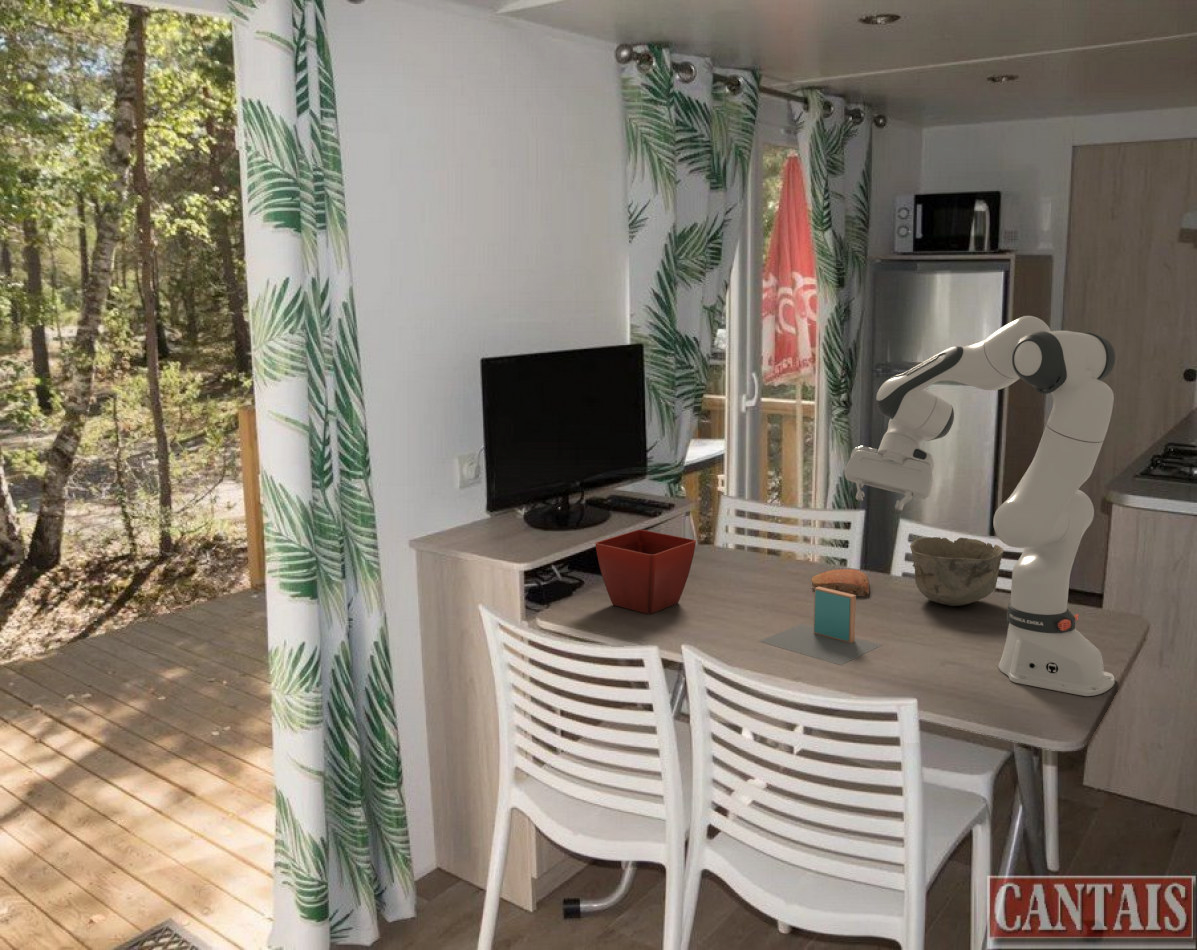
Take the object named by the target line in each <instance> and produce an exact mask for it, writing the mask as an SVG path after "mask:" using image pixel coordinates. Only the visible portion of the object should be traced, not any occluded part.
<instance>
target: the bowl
mask: <svg viewBox="0 0 1197 950" xmlns="http://www.w3.org/2000/svg"><path fill="white" fill-rule="evenodd" d="M909 546H910V550H911V555H912V561H913V565H912V567H913V568H914V579H915V580H914V581H915V584H916V588H918V590H919V592H920V594H922V595H923V596H924V597H926V598H927V599H928V600H930V601H932V602H935V603H938V604H941V605H944V604H945V606H949V607H950V606H951V607H958V606H964V605H965V606H966V605H968V604H971V603H975V602H977V601H980V600H982V599H984V598H987V597H989V595H991V593H993V592H994V591H995V589H996V587H997V584H998V578H999V571H1000V567H1001V564H1002V563H1001V561H1002V558H1003V556H1004V548H1003V547H1001V546H999V545H997V544H994V546H993V545H992V543H990V542H984V541H982V540H979V539H975V538H966V537H959V538H956V540H954V541H951V540H949V539H948V538H947V537H942V538H941V537H940V536H938V537H937V536H936V537H935V536H934V537H931V536H930V537H922V538H917V539H914V540H913V541H912V542H911V543H910V545H909Z"/></svg>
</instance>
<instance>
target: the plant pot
mask: <svg viewBox="0 0 1197 950" xmlns="http://www.w3.org/2000/svg"><path fill="white" fill-rule="evenodd" d="M696 543H697V541H696V539H691V538H687V537H682V536H677V535H676V536H675V535H671V534H665V533H661V532H656V531H651V530H647V529H646V530H645V529H635V530H632V531H630V532H626V533H623V534H619V535H617V536H616V535H615V536H613V537H609V538H606V539H602V540H600V541H599V540H598V541H596V542H595V545H594V546H595V551H596V556H597V562H598V566H599V570H600V573H601V577H602V580H603V583H604V587H605V589H606V592H607V594H608V597H609V600H610V601H611V604H612V605H613V606H617V607H620V608H625V609H627V610H631V611H635V612H639V613H644V614H646V615H647V614H648V615H651V614H654V613H656V612H660V611H661V609H662V610H664V609H667V608H668V606H669V607H671V605H672V606H674V605H677V604H678V603H679V602H680V600H681V597H682V595H683V592H684V589H685V587H686V584H687V582H688V578H689V575H690V572H691V567H692V564H693V559H694V555H695V550H696ZM676 603H677V604H676ZM673 604H674V605H673ZM666 607H667V608H666Z"/></svg>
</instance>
